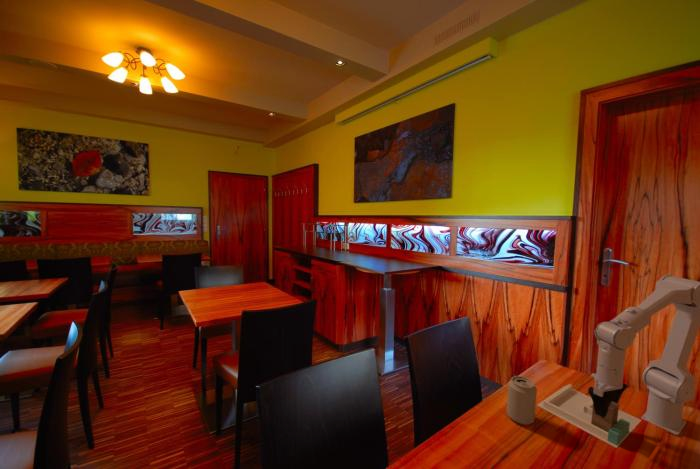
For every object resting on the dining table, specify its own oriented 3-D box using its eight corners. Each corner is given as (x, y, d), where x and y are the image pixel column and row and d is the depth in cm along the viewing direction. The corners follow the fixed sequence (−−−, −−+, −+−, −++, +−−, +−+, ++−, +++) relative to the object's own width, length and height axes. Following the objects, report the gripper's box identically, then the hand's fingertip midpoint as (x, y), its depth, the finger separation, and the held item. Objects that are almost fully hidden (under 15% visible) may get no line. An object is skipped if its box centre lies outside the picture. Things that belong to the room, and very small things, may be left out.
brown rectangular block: (597, 421, 93) (599, 396, 92) (616, 430, 89) (619, 404, 88) (590, 426, 91) (593, 401, 90) (609, 436, 87) (612, 410, 86)
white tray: (565, 387, 111) (565, 377, 110) (641, 421, 94) (642, 410, 93) (536, 406, 100) (537, 396, 100) (616, 449, 83) (617, 437, 83)
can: (527, 410, 99) (530, 374, 97) (539, 427, 91) (542, 389, 90) (502, 408, 99) (505, 373, 98) (512, 425, 92) (515, 387, 90)
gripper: (603, 352, 95) (599, 394, 97) (582, 366, 87) (578, 411, 89) (633, 363, 89) (628, 407, 91) (613, 378, 81) (608, 426, 83)
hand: (605, 410), depth 89 cm, fingers open, 7 cm apart
